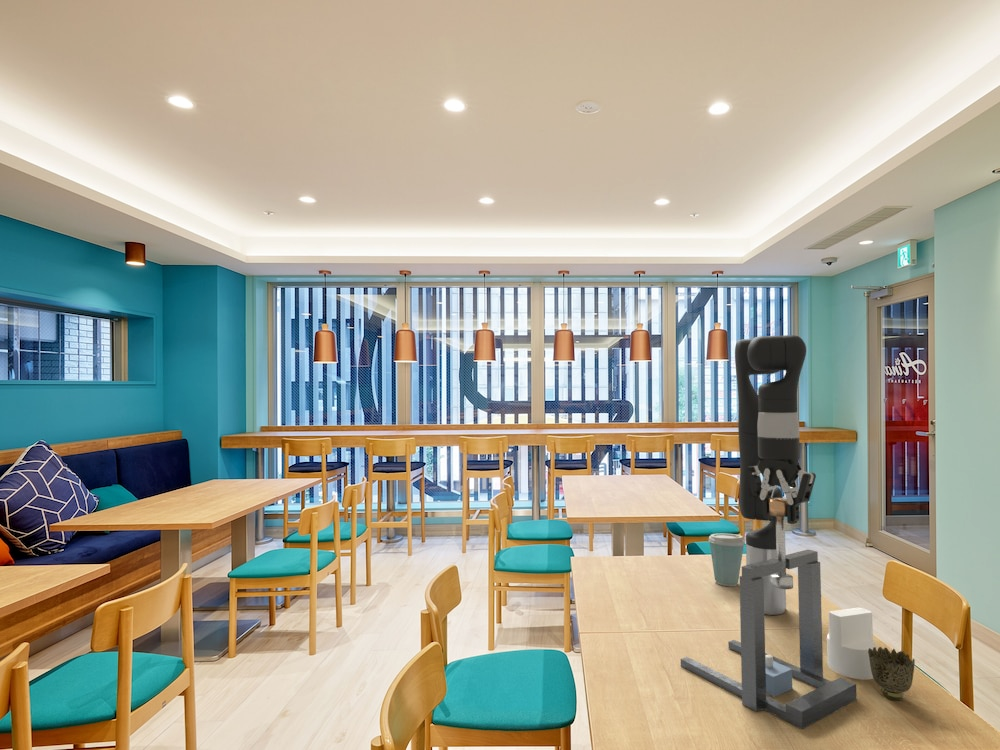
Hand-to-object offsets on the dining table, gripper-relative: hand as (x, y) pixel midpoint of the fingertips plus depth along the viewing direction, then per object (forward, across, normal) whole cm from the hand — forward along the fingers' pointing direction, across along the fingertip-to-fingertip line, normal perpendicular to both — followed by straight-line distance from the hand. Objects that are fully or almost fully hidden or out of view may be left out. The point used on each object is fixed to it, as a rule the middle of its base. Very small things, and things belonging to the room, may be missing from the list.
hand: (780, 520), depth 112 cm
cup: (+34, -12, -16) cm, 39 cm away
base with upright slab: (+34, -2, -21) cm, 40 cm away
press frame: (+34, +5, 0) cm, 34 cm away
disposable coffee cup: (+34, +47, -45) cm, 73 cm away
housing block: (+34, +3, 0) cm, 34 cm away
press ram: (+13, 0, 0) cm, 13 cm away
